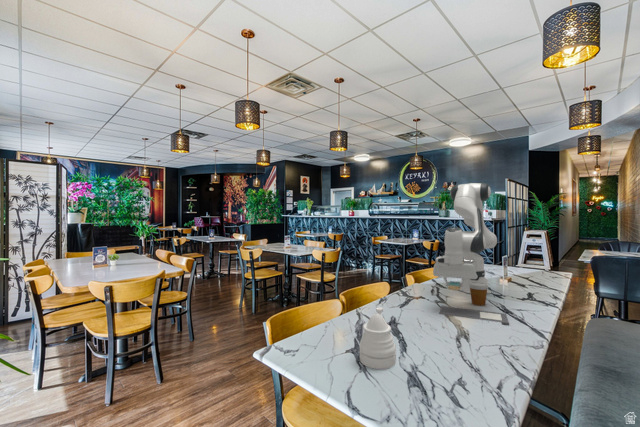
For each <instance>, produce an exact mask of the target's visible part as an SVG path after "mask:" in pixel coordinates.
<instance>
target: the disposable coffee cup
mask: <svg viewBox="0 0 640 427" xmlns="http://www.w3.org/2000/svg"><path fill="white" fill-rule="evenodd" d="M469 287H470V293H471V294H470V293H469V294H470V299H471V304H472V305H474V306H480V307H484V306H485V305H486V303H487V302H486V300H487V289H489V285H488V286H487V284H485V283H480V282H471V283H470V284H469Z"/></svg>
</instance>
